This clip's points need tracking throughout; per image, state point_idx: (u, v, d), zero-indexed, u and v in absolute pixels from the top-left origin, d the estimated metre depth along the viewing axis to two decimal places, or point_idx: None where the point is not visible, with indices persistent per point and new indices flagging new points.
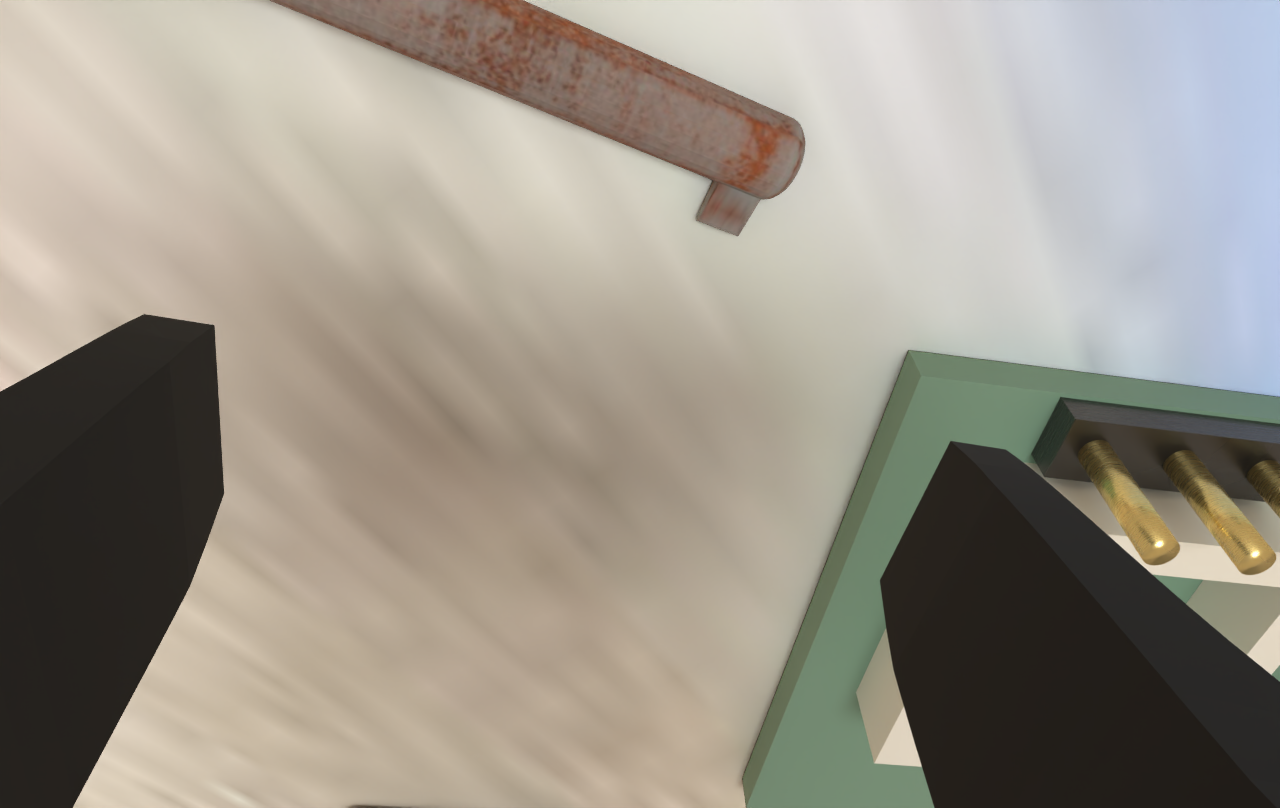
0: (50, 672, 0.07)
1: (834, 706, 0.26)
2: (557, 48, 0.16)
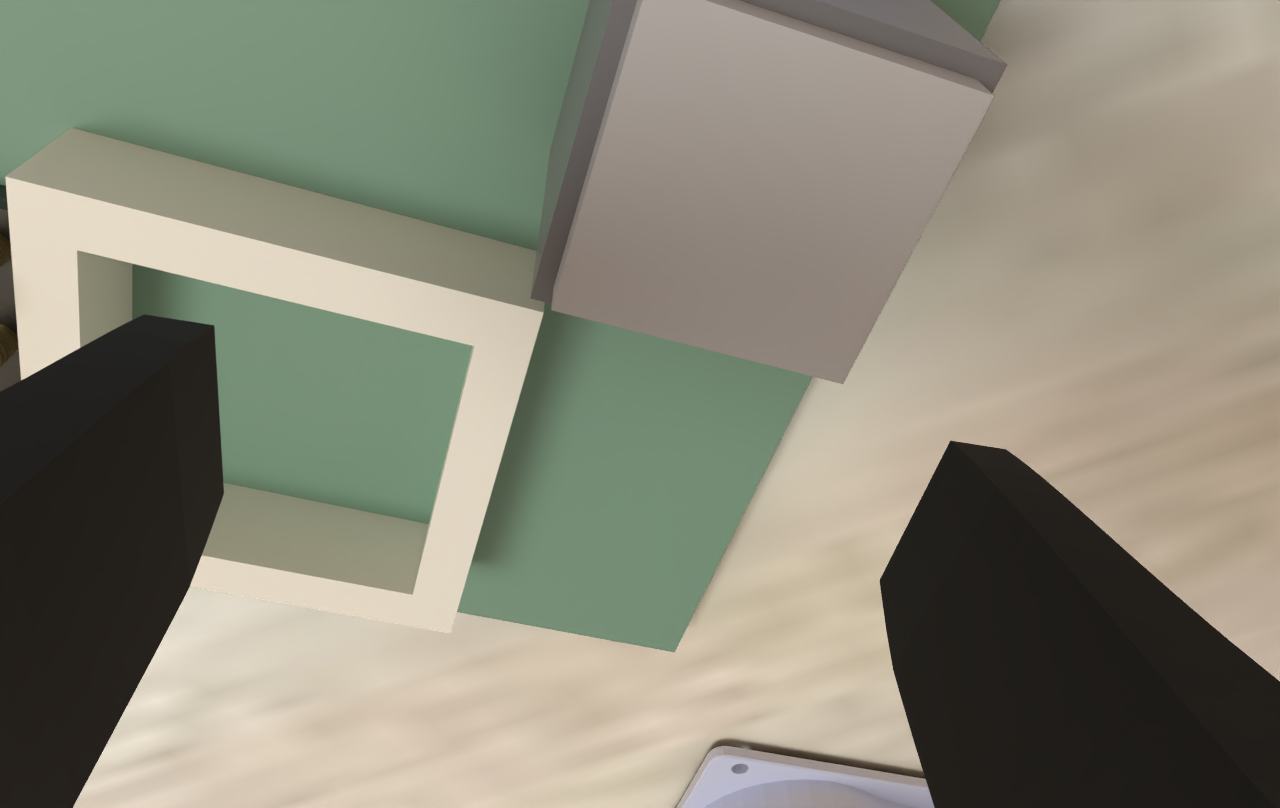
0: (50, 672, 0.07)
1: (486, 579, 0.23)
2: None
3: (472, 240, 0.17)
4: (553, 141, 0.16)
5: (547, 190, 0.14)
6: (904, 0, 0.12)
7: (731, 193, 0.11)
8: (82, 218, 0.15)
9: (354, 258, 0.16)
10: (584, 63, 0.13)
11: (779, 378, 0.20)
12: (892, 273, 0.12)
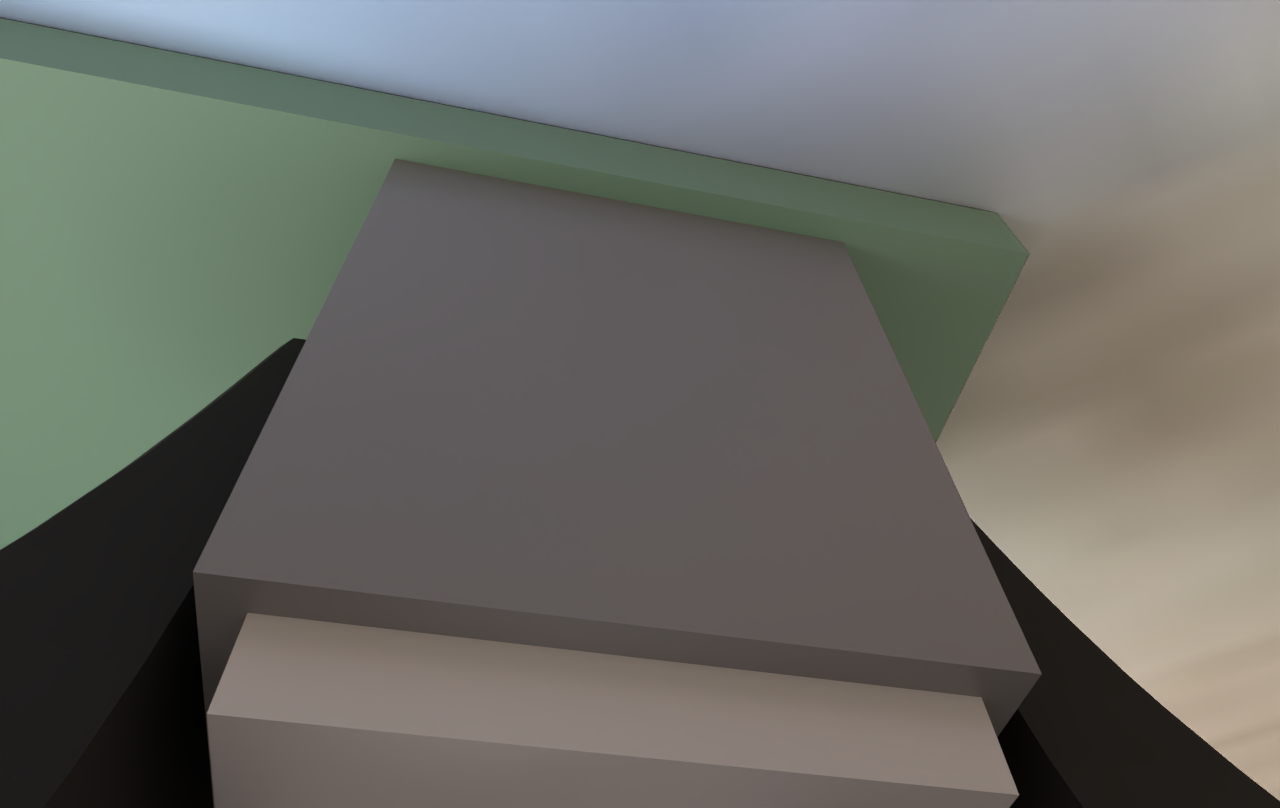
0: None
1: None
2: None
3: None
4: None
5: None
6: (845, 412, 0.07)
7: None
8: None
9: None
10: None
11: None
12: None
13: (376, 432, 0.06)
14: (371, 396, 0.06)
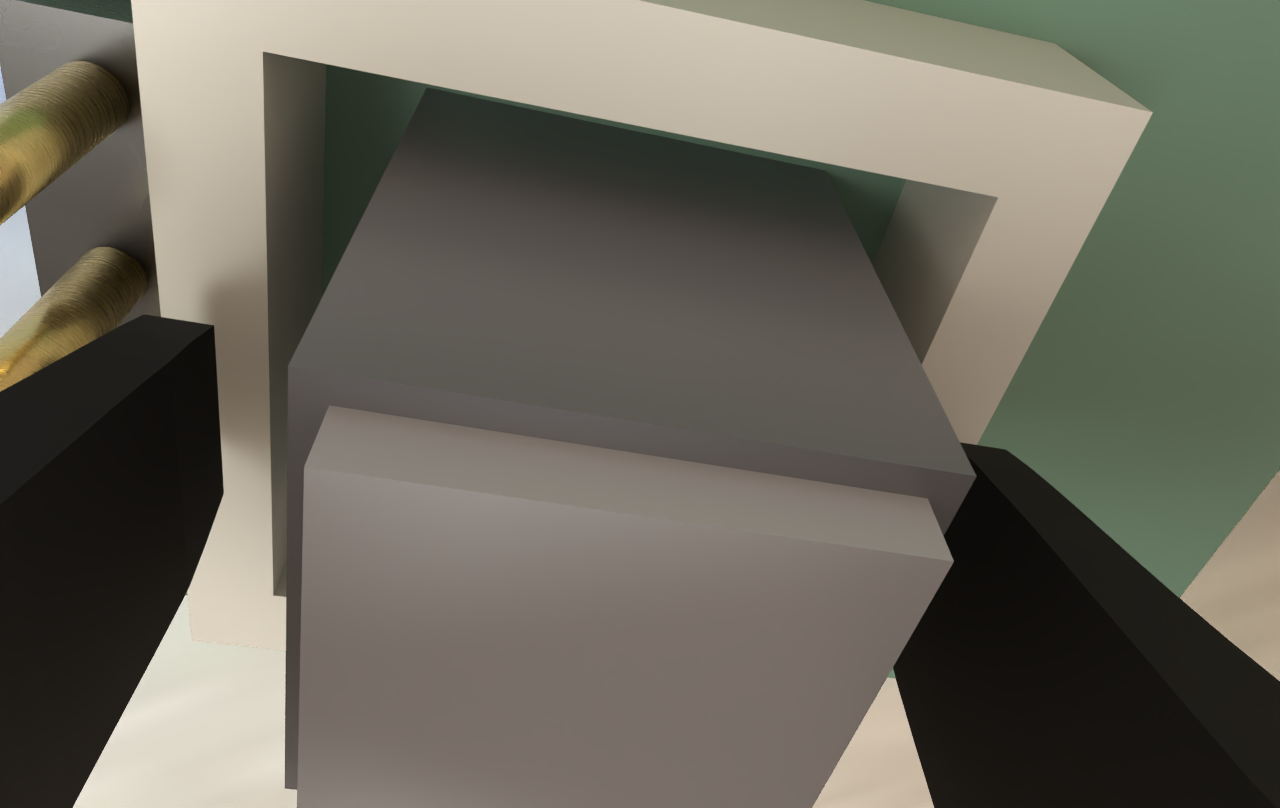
0: (50, 672, 0.07)
1: None
2: None
3: (933, 21, 0.10)
4: None
5: None
6: (822, 294, 0.08)
7: (534, 704, 0.07)
8: None
9: (791, 29, 0.08)
10: None
11: None
12: (819, 771, 0.07)
13: (426, 283, 0.07)
14: (418, 258, 0.07)
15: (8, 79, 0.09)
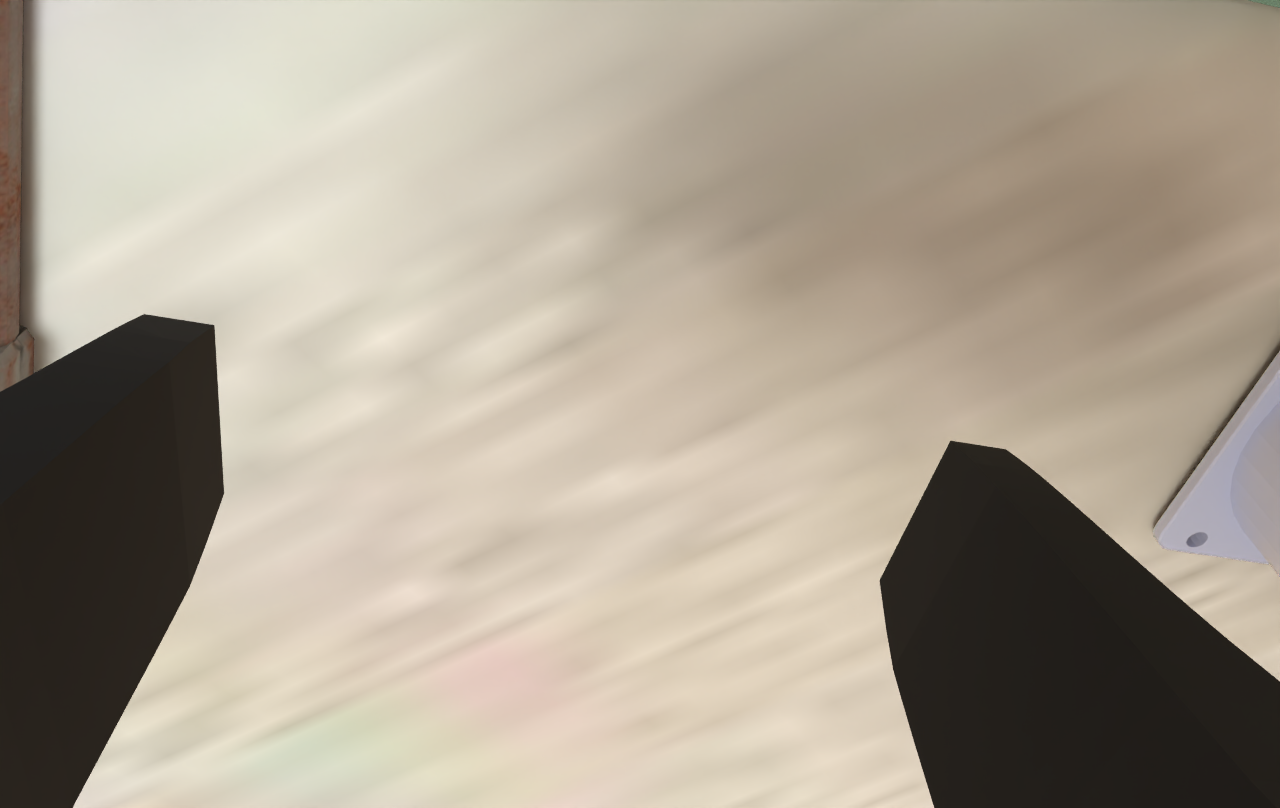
0: (50, 670, 0.07)
1: None
2: None
3: None
4: None
5: None
6: None
7: None
8: None
9: None
10: None
11: None
12: None
13: None
14: None
15: None
